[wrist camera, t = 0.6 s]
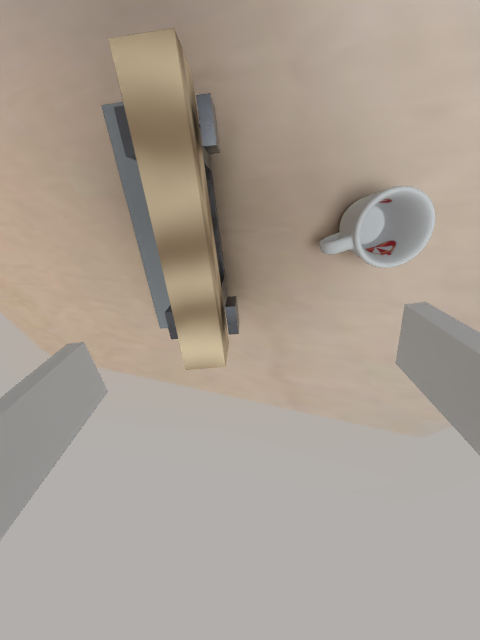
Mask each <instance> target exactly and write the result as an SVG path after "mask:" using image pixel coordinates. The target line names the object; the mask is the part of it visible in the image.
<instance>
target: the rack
mask: <svg viewBox="0 0 480 640" xmlns="http://www.w3.org/2000/svg"><path fill="white" fill-rule="evenodd" d="M196 98H197V105H198V113H199V120H200V124H199V131H200V138H201V145H202V152H203V160H204V167H205V174H206V181H207V188H208V196H209V203H210V210H211V217H212V224H213V232H214V239H215V246H216V253H217V260H218V268H219V275H220V282H221V289H222V296H223V304H224V309H225V310H226V317H227V325H228V332H229V334H239V314H238V305H237V296H232V297H228V293H227V286H226V278H225V270H224V262H223V255H222V247H221V239H220V231H219V224H218V216H217V208H216V201H215V193H214V185H213V177H212V170H211V162H210V154H214V153H220V148H219V139H218V130H217V121H216V113H215V107H214V104H213V101H212V97H211V94H210V93H208V94H201V95H196ZM114 111H115V115H116V119H117V123H118V127H119V131H120V135H121V139H122V143H123V147H124V151H125V155H126V157H128V158H131V159H133V160H135V161H137V159H136V155H135V150H134V146H133V142H132V137H131V133H130V129H129V125H128V120H127V116H126V112H125V108H124V106H117V107H114ZM165 317H166V321H167V325H168V329H169V333H170V337H171V339H178V334H177V330H176V326H175V321H174V317H173V313H172V309H171V305H170V306H169V307H168V309H167V310H166V311H165Z"/></svg>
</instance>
